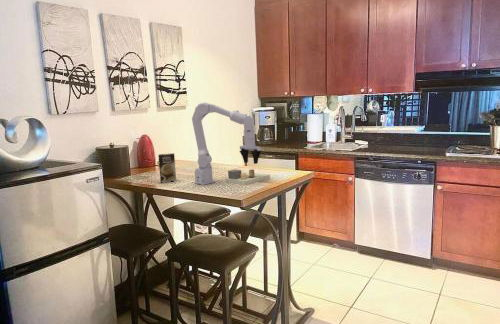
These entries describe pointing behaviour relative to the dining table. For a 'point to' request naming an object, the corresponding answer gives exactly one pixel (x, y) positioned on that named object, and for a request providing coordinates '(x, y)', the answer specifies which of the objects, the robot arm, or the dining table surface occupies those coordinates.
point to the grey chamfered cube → (234, 174)
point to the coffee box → (167, 167)
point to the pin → (251, 174)
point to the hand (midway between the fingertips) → (250, 163)
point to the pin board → (246, 180)
